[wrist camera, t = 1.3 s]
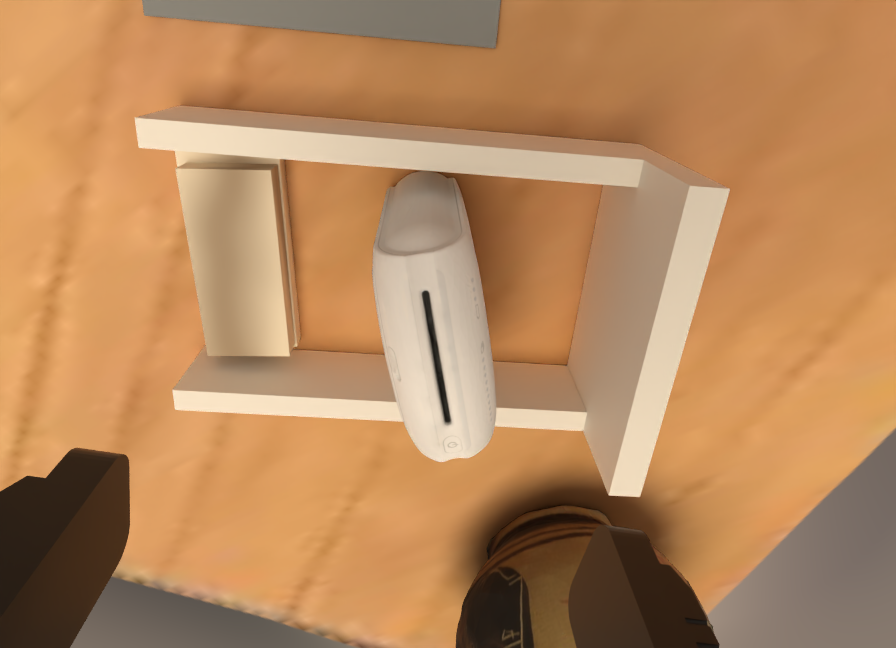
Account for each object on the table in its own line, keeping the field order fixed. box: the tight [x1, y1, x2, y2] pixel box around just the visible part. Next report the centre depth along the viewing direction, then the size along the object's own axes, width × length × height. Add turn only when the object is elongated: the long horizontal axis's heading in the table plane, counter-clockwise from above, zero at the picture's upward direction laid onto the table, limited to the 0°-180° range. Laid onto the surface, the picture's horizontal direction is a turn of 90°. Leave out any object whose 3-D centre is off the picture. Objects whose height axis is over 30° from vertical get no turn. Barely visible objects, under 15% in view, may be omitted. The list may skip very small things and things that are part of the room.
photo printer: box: [372, 171, 496, 462], centre depth 27 cm, size 10×4×12 cm, turn 8°
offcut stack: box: [175, 151, 301, 356], centre depth 31 cm, size 5×11×3 cm, turn 178°
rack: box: [135, 105, 730, 497], centre depth 28 cm, size 23×14×10 cm, turn 85°
